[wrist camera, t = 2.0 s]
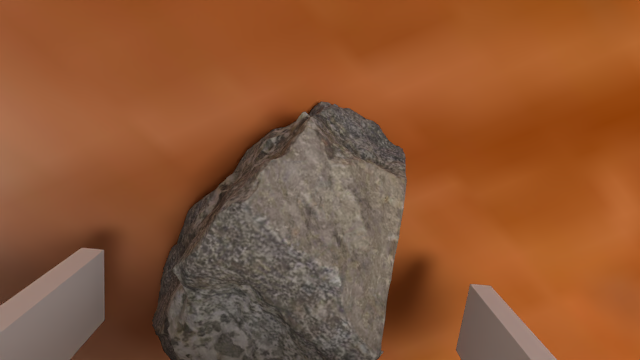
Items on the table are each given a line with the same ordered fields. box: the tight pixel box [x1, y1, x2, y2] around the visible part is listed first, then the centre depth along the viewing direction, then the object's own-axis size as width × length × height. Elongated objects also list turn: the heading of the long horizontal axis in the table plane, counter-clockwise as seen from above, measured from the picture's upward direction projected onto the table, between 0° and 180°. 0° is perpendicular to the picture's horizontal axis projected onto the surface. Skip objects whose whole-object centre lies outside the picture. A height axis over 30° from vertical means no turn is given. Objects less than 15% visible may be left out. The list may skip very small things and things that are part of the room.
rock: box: [152, 102, 407, 360], centre depth 15 cm, size 13×9×6 cm, turn 166°
